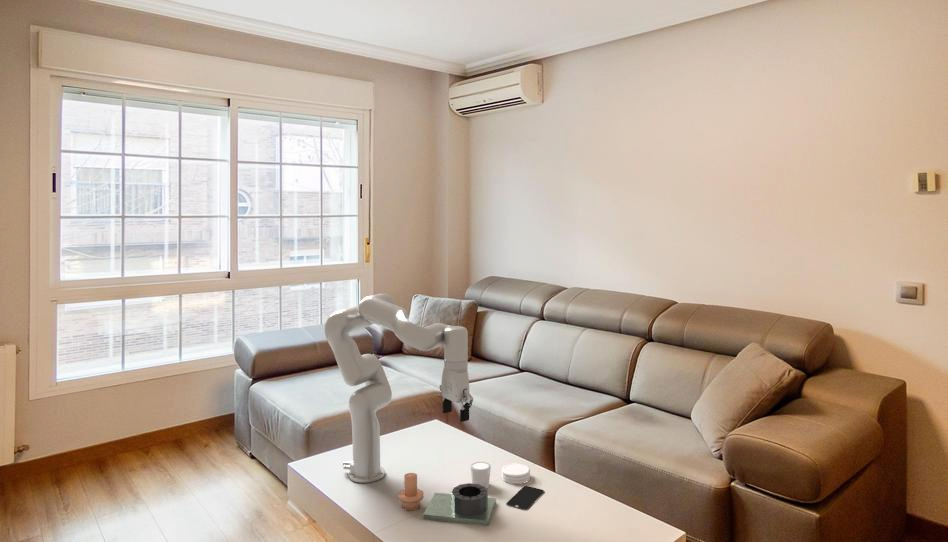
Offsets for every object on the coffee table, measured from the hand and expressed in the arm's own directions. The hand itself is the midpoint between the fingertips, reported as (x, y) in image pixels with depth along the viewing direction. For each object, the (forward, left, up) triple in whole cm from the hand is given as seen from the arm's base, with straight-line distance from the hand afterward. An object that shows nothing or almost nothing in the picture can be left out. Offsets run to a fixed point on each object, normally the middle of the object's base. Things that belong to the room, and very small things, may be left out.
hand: (455, 416), depth 188 cm
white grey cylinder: (+7, +8, -27) cm, 29 cm away
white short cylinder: (+18, +16, -27) cm, 36 cm away
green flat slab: (+4, -10, -27) cm, 28 cm away
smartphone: (+23, +2, -27) cm, 35 cm away
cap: (-12, -10, -27) cm, 31 cm away
